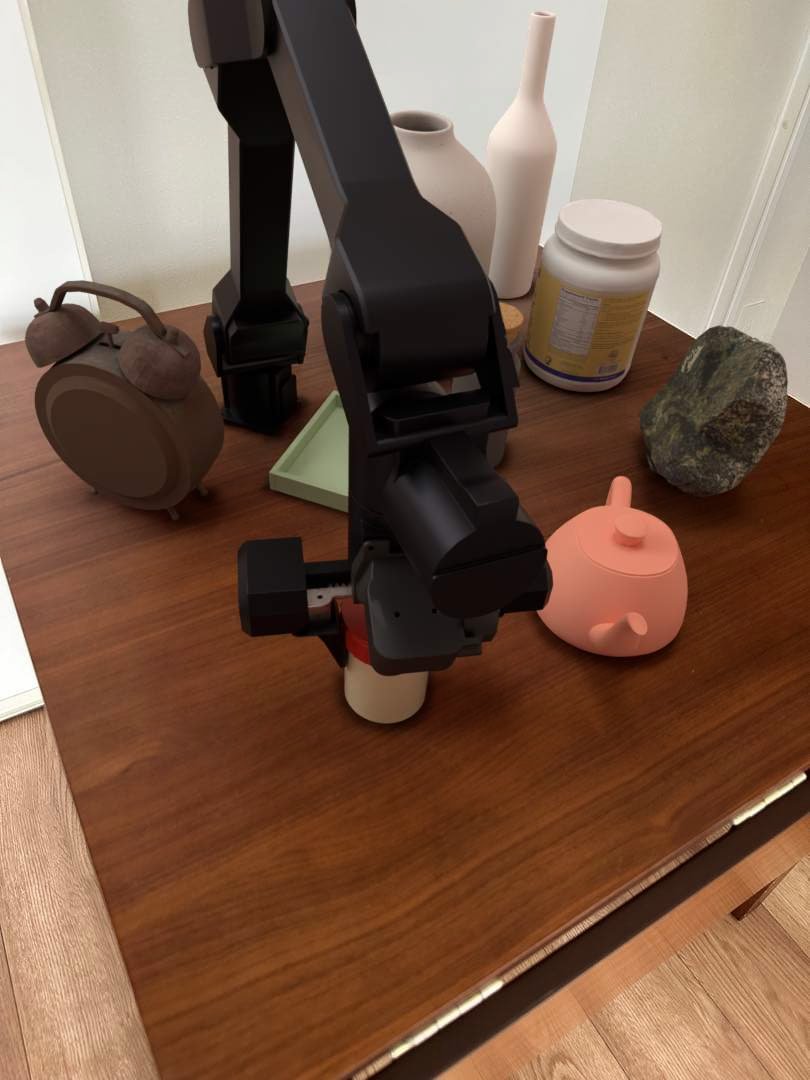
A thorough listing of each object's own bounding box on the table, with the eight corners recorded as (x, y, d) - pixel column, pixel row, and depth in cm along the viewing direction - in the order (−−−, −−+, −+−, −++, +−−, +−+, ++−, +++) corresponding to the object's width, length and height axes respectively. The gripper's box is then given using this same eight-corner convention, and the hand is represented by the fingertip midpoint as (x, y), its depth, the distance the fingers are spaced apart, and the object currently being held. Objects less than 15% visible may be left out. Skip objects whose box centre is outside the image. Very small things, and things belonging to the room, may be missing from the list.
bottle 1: (533, 275, 104) (585, 10, 82) (526, 304, 98) (579, 27, 77) (474, 265, 105) (510, 0, 83) (463, 293, 99) (499, 16, 78)
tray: (269, 488, 71) (268, 472, 69) (333, 406, 80) (333, 389, 79) (383, 523, 69) (384, 507, 67) (435, 434, 78) (437, 418, 77)
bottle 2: (499, 476, 74) (527, 337, 64) (439, 465, 75) (457, 325, 64) (506, 439, 78) (533, 303, 68) (449, 429, 79) (467, 292, 68)
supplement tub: (539, 327, 94) (569, 185, 82) (638, 355, 91) (683, 212, 79) (506, 376, 86) (533, 227, 74) (612, 409, 83) (658, 258, 71)
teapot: (667, 548, 69) (703, 466, 62) (687, 723, 56) (735, 643, 49) (531, 527, 69) (552, 443, 63) (521, 694, 57) (546, 612, 50)
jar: (330, 706, 55) (330, 633, 49) (363, 644, 59) (366, 569, 53) (409, 735, 54) (419, 664, 48) (437, 669, 58) (449, 596, 52)
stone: (630, 424, 81) (675, 292, 71) (730, 442, 80) (791, 311, 70) (629, 516, 71) (680, 378, 61) (743, 538, 70) (816, 402, 60)
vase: (388, 295, 97) (399, 82, 80) (503, 344, 91) (542, 122, 74) (299, 350, 87) (290, 118, 70) (421, 408, 81) (443, 169, 64)
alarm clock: (242, 489, 70) (219, 284, 56) (201, 542, 66) (165, 331, 51) (103, 449, 73) (48, 243, 59) (55, 496, 68) (-19, 284, 54)
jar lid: (420, 684, 49) (423, 663, 47) (323, 650, 50) (322, 628, 48) (453, 609, 53) (456, 587, 52) (363, 579, 55) (364, 557, 53)
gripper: (227, 609, 35) (254, 781, 46) (612, 575, 38) (553, 744, 49) (226, 458, 43) (250, 636, 54) (546, 440, 46) (507, 611, 57)
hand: (388, 657), depth 53 cm, fingers closed on jar lid, 6 cm apart
